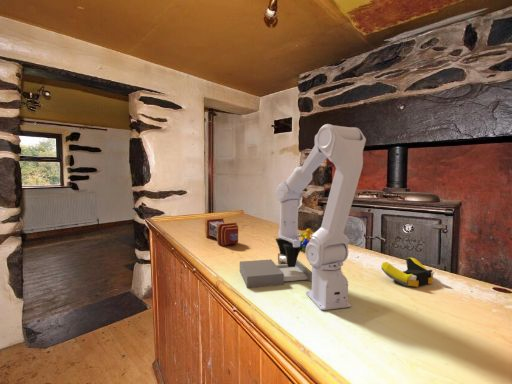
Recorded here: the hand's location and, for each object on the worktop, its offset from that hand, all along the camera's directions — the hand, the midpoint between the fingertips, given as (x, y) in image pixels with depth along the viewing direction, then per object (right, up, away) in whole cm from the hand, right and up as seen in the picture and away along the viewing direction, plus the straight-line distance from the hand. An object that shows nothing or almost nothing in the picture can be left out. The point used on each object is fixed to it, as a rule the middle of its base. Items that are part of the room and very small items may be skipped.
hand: (287, 263), depth 83 cm
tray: (0, -4, 0) cm, 4 cm away
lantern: (-27, -1, +43) cm, 50 cm away
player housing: (-9, -4, -2) cm, 10 cm away
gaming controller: (+37, -5, -3) cm, 37 cm away
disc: (0, +1, 0) cm, 1 cm away
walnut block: (0, -3, +10) cm, 11 cm away
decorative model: (+12, -2, +31) cm, 33 cm away
